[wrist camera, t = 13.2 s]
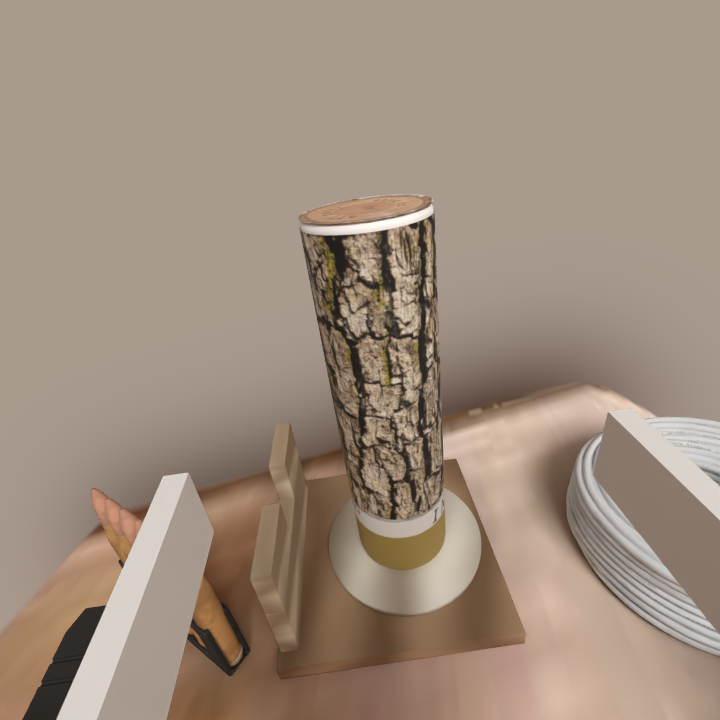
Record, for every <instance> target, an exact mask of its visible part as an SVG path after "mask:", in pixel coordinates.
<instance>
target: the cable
mask: <svg viewBox="0 0 720 720" xmlns="http://www.w3.org/2000/svg"><path fill="white" fill-rule="evenodd" d="M645 420H646V421H647V422H648V423H649V424H650V425H651V426H652V427H654V428H655V429H656V430H657V431H658V432H659V433H660V434H661V435H663V436H664V437H665V438H666V439H667V440H668V441H669V442H670V443H672V444H673V445H674V446H675V447H676V448H677V449H678V450H679V451H681V452H682V453H683V454H684V455H685V456H686V457H687V458H688V459H690V460H691V461H692V462H693V463H694V464H695V465H696V466H697V467H699V468H700V469H701V470H702V471H703V472H704V473H705V474H706V475H708V476H709V477H710V478H711V479H712V480H713V481H714V482H715V483H717V484H718V485H719V486H720V422H716V421H711V420H705V419H696V418H685V417H657V418H648V419H645ZM602 435H603V432H601V433H599V434H597V435H596V436H594V437H593V438H591V439H590V440H589V441H588V442H587V443H586V444H585V445H584V446H583V447H582V449H581V450H580V452H579V454H578V456H577V459H576V461H575V465H574V467H573V472H572V475H571V479H570V484H569V486H568V490H567V495H566V511H567V519H568V523H569V526H570V528H571V531H572V533H573V535H574V537H575V538H576V540H577V542H578V544H579V546H580V548H581V550H582V551H583V553H584V555H585V557H586V559H587V560H588V562H589V564H590V565H591V566H592V568H593V569H594V571H595V572H596V573H597V575H598V576H599V577H600V578H601V579H602V581H603V582H604V583H605V584H606V585H607V586H608V587H609V589H610V590H611V591H612V592H614V593H615V594H616V595H617V596H618V597H619V598H620V599H621V600H622V601H623V602H624V603H625V604H626V605H627V606H629V607H630V608H631V609H632V610H634V611H635V612H636V613H637V614H639V615H640V616H641V617H643V618H644V619H646V620H647V621H649V622H650V623H651V624H653V625H655V626H656V627H658V628H659V629H661V630H663V631H664V632H666V633H668V634H670V635H671V636H673V637H675V638H677V639H679V640H681V641H683V642H685V643H687V644H689V645H691V646H694V647H696V648H698V649H701V650H703V651H706V652H709V653H711V654H714V655H718V656H720V635H719V633H718V632H717V631H716V630H715V628H714V627H713V626H712V625H711V623H710V622H709V621H708V620H707V618H706V617H705V616H704V615H703V613H702V612H701V611H700V609H699V608H698V607H697V606H696V604H695V603H694V602H693V601H692V599H691V598H690V597H689V596H688V594H687V593H686V592H685V591H684V589H683V588H682V587H681V586H680V584H679V583H678V582H677V581H676V579H675V578H674V577H673V576H672V574H671V573H670V572H669V570H668V569H667V568H666V567H665V565H664V564H663V563H662V562H661V560H660V559H659V558H658V557H657V555H656V554H655V553H654V552H653V550H652V549H651V548H650V547H649V545H648V544H647V543H646V542H645V540H644V539H643V538H642V537H641V535H640V534H639V533H638V532H637V530H636V529H635V528H634V526H633V525H632V524H631V523H630V521H629V520H628V519H627V518H626V516H625V515H624V514H623V513H622V511H621V510H620V509H619V508H618V506H617V505H616V504H615V503H614V501H613V500H612V499H611V498H610V496H609V495H608V494H607V493H606V491H605V490H604V489H603V487H602V486H601V485H600V484H599V482H598V481H597V480H596V479H595V477H594V476H593V472H594V468H595V464H596V460H597V456H598V452H599V447H600V443H601V439H602Z"/></svg>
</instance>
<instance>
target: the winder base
mask: <svg viewBox="0 0 720 720" xmlns="http://www.w3.org/2000/svg"><path fill="white" fill-rule="evenodd" d="M443 462H444V489H445V526H446V534H445V540H444V544H443V546H442V548H441V550H440V552H439V553H438V554H437V555H436V557H435V558H433V559H432V560H431V561H430V562H428V563H427V564H425V565H423V566H421V567H418V568H415V569H411V570H395V569H391V568H387V567H385V566H382V565H380V564H378V563H377V562H375V561H374V560H373V559H372V558H371V557H370V556H369V555H368V554H367V553H366V551H365V550H364V548H363V545H362V543H361V540H360V535H359V530H358V525H357V520H356V515H355V511H354V506H353V501H352V496H351V491H350V485H349V480H348V475H343V476H337V477H330V478H323V479H316V480H310V481H305V477H304V473H303V469H302V466H301V462H300V458H299V455H298V451H297V447H296V443H295V440H294V436H293V432H292V428H291V425H290V422H288V423H282V424H276V428H275V434H274V440H273V446H272V451H271V457H270V463H269V470H270V473H271V476H272V479H273V482H274V485H275V488H276V492H277V495H278V498H279V503H275V504H268V505H262V510H261V516H260V522H259V527H258V533H257V539H256V545H255V551H254V557H253V563H252V569H251V574H250V580H251V583H252V585H253V587H254V590H255V592H256V594H257V597H258V599H259V601H260V604H261V606H262V608H263V611H264V613H265V615H266V618H267V620H268V622H269V625H270V627H271V629H272V632H273V634H274V636H275V639H276V641H277V644H278V646H279V649H278V660H277V672H278V674H279V676H280V679H285V678H292V677H298V676H305V675H312V674H319V673H325V672H332V671H339V670H346V669H352V668H359V667H366V666H372V665H379V664H386V663H393V662H399V661H406V660H413V659H420V658H426V657H433V656H440V655H447V654H453V653H460V652H467V651H473V650H480V649H487V648H494V647H500V646H507V645H514V644H521V643H524V641H525V630H524V628H523V625H522V623H521V620H520V618H519V615H518V613H517V610H516V608H515V605H514V603H513V600H512V598H511V595H510V593H509V590H508V588H507V585H506V583H505V580H504V578H503V575H502V573H501V570H500V568H499V565H498V563H497V560H496V558H495V555H494V553H493V550H492V548H491V545H490V543H489V540H488V538H487V535H486V533H485V530H484V528H483V525H482V523H481V520H480V518H479V515H478V512H477V510H476V507H475V505H474V502H473V500H472V497H471V495H470V492H469V490H468V487H467V485H466V482H465V480H464V477H463V475H462V472H461V470H460V467H459V465H458V462H457V460H456V459H451V460H445V461H443Z"/></svg>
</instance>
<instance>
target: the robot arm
mask: <svg viewBox="0 0 720 720" xmlns="http://www.w3.org/2000/svg"><path fill="white" fill-rule="evenodd" d="M593 476H594V477H595V479H596V480H597V481H598V482H599V484H600V485H601V486H602V487H603V489H604V490H605V491H606V493H607V494H608V495H609V496H610V498H611V499H612V500H613V501H614V503H615V504H616V505H617V506H618V508H619V509H620V510H621V511H622V513H623V514H624V515H625V516H626V518H627V519H628V520H629V521H630V523H631V524H632V525H633V526H634V528H635V529H636V530H637V532H638V533H639V534H640V535H641V537H642V538H643V539H644V540H645V542H646V543H647V544H648V545H649V547H650V548H651V549H652V550H653V552H654V553H655V554H656V555H657V557H658V558H659V559H660V560H661V562H662V563H663V564H664V565H665V567H666V568H667V569H668V570H669V572H670V573H671V574H672V576H673V577H674V578H675V579H676V581H677V582H678V583H679V584H680V586H681V587H682V588H683V589H684V591H685V592H686V593H687V594H688V596H689V597H690V598H691V599H692V601H693V602H694V603H695V604H696V606H697V607H698V608H699V609H700V611H701V612H702V613H703V615H704V616H705V617H706V618H707V620H708V621H709V622H710V623H711V625H712V626H713V627H714V628H715V630H716V631H717V632H718V633H719V635H720V486H719V485H718V484H717V483H715V482H714V481H713V480H712V479H711V478H710V477H709V476H708V475H706V474H705V473H704V472H703V471H702V470H701V469H700V468H699V467H697V466H696V465H695V464H694V463H693V462H692V461H691V460H690V459H688V458H687V457H686V456H685V455H684V454H683V453H682V452H681V451H679V450H678V449H677V448H676V447H675V446H674V445H673V444H672V443H670V442H669V441H668V440H667V439H666V438H665V437H664V436H663V435H661V434H660V433H659V432H658V431H657V430H656V429H655V428H654V427H652V426H651V425H650V424H649V423H648V422H647V421H646V420H645V419H643V418H642V417H641V416H640V415H639V414H638V413H637V412H636V411H634V410H633V409H632V408H630V409H623V410H616V411H610V412H608V414H607V419H606V423H605V427H604V431H603V435H602V439H601V443H600V447H599V452H598V456H597V460H596V464H595V468H594V472H593ZM213 534H214V530H213V528H212V526H211V523H210V521H209V519H208V516H207V514H206V512H205V509H204V507H203V505H202V503H201V500H200V498H199V496H198V493H197V491H196V489H195V486H194V484H193V482H192V479H191V477H190V475H189V473H183V474H175V475H168V476H163V478H162V480H161V483H160V485H159V487H158V490H157V492H156V494H155V496H154V499H153V501H152V503H151V505H150V508H149V510H148V512H147V514H146V517H145V519H144V521H143V524H142V526H141V528H140V530H139V533H138V535H137V537H136V539H135V542H134V544H133V546H132V549H131V551H130V553H129V555H128V558H127V560H126V562H125V564H124V567H123V569H122V571H121V574H120V576H119V578H118V580H117V583H116V585H115V587H114V589H113V592H112V594H111V596H110V599H109V601H108V603H107V605H105V606H99V607H92V608H86V609H85V610H84V611H83V612H82V614H81V615H80V616H79V617H78V618H77V620H76V621H75V622H74V623H73V624H72V626H71V627H70V628H69V629H68V630H67V632H66V633H65V635H64V637H63V639H62V641H61V643H60V645H59V647H58V649H57V651H56V653H55V655H54V657H53V663H52V664H50V665H49V667H48V669H47V671H46V673H45V675H44V677H43V679H42V681H41V682H42V685H41V687H38V689H37V691H36V693H35V695H34V698H33V700H32V702H31V704H30V706H29V708H28V710H27V712H26V714H25V716H24V718H23V720H167V716H168V712H169V708H170V704H171V700H172V696H173V692H174V688H175V684H176V680H177V676H178V672H179V668H180V664H181V660H182V656H183V652H184V648H185V645H186V641H187V637H188V633H189V629H190V625H191V621H192V617H193V613H194V609H195V605H196V601H197V597H198V593H199V589H200V585H201V581H202V577H203V574H204V570H205V566H206V562H207V558H208V554H209V550H210V546H211V542H212V538H213Z"/></svg>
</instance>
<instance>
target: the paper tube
mask: <svg viewBox="0 0 720 720" xmlns="http://www.w3.org/2000/svg"><path fill="white" fill-rule="evenodd" d="M432 202H433V199H432V198H431V197H428V196H424V195H413V194H412V195H411V194H402V195H401V194H399V195H383V196H373V197H365V198H358V199H352V200H346V201H341V202H336V203H331V204H327V205H324V206H320V207H317V208H314V209H311V210H308V211H306V212H304V213H303V214H301V215H300V216H299V218H298V219H299V220H300V221H301V223H300V233H301V238H302V243H303V248H304V253H305V259H306V263H307V269H308V274H309V279H310V284H311V290H312V294H313V299H314V305H315V310H316V315H317V321H318V325H319V330H320V336H321V341H322V346H323V351H324V357H325V362H326V366H327V372H328V377H329V382H330V387H331V393H332V398H333V403H334V408H335V413H336V418H337V423H338V428H339V434H340V439H341V444H342V449H343V455H344V460H345V465H346V470H347V475H348V480H349V485H350V491H351V496H352V501H353V506H354V511H355V515H356V520H357V525H358V530H359V535H360V540H361V543H362V545H363V548H364V550H365V551H366V553H367V554H368V555H369V556H370V557H371V558H372V559H373V560H374V561H375V562H377V563H378V564H380V565H382V566H385V567H387V568H391V569H395V570H411V569H415V568H418V567H421V566H423V565H425V564H427V563H428V562H430V561H431V560H432V559H433V558H435V557H436V555H437V554H438V553H439V552H440V550H441V548H442V546H443V544H444V540H445V534H446V526H445V489H444V462H443V435H442V409H441V408H442V407H441V382H440V381H441V380H440V354H439V353H440V352H439V326H438V299H437V271H436V243H435V218H434V217H435V216H434V208H433V206H432Z"/></svg>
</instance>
